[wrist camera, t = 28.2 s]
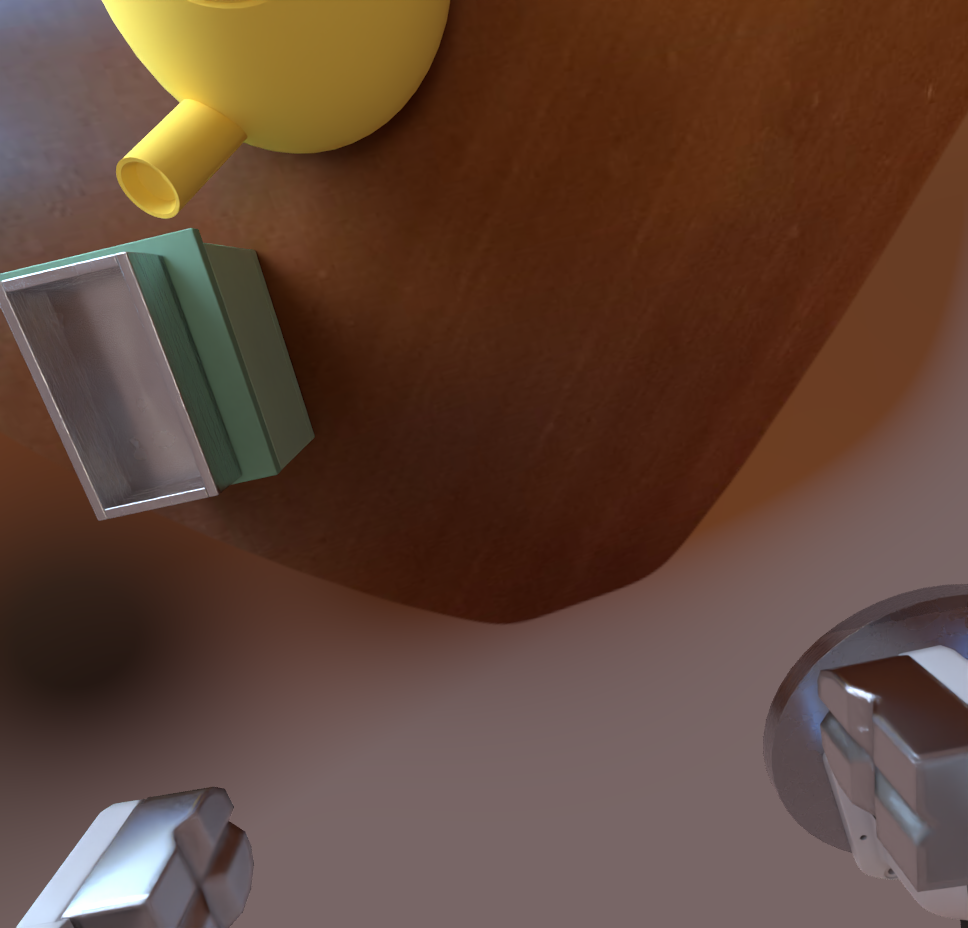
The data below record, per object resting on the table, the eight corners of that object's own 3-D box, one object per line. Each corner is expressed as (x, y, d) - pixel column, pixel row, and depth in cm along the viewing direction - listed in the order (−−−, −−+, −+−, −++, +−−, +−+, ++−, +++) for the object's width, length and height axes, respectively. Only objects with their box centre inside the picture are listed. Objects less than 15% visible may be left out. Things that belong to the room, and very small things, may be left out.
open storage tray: (243, 474, 30) (218, 495, 27) (133, 498, 30) (97, 521, 27) (163, 254, 26) (125, 251, 24) (40, 283, 27) (-11, 283, 24)
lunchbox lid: (6, 275, 27) (-6, 274, 27) (198, 228, 27) (191, 227, 26) (110, 507, 31) (102, 512, 30) (281, 470, 30) (277, 474, 30)
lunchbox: (100, 286, 34) (12, 287, 27) (255, 249, 33) (203, 242, 27) (173, 468, 37) (111, 507, 31) (315, 437, 37) (282, 470, 30)
